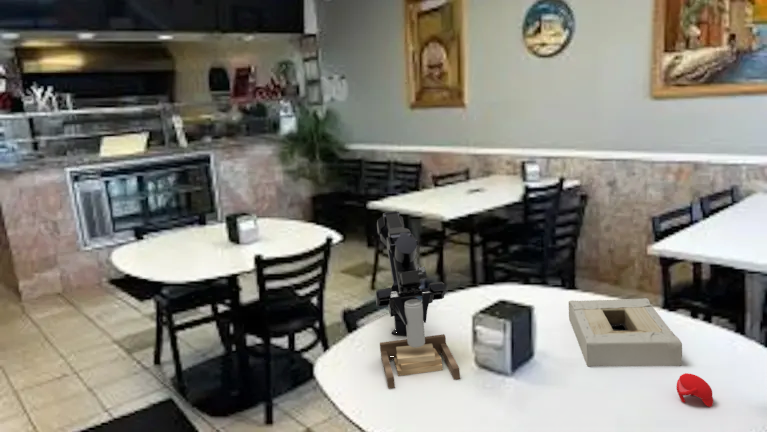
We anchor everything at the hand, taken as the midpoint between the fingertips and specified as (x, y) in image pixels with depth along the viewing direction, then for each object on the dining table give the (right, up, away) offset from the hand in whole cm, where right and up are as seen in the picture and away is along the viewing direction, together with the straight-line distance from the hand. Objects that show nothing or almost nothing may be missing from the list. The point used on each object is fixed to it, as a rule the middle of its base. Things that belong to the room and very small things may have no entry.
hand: (415, 323), depth 157 cm
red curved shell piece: (+61, -13, -24) cm, 67 cm away
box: (+58, -7, +9) cm, 59 cm away
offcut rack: (+1, -13, +4) cm, 13 cm away
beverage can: (0, -6, +3) cm, 7 cm away
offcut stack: (+1, -13, +5) cm, 13 cm away
